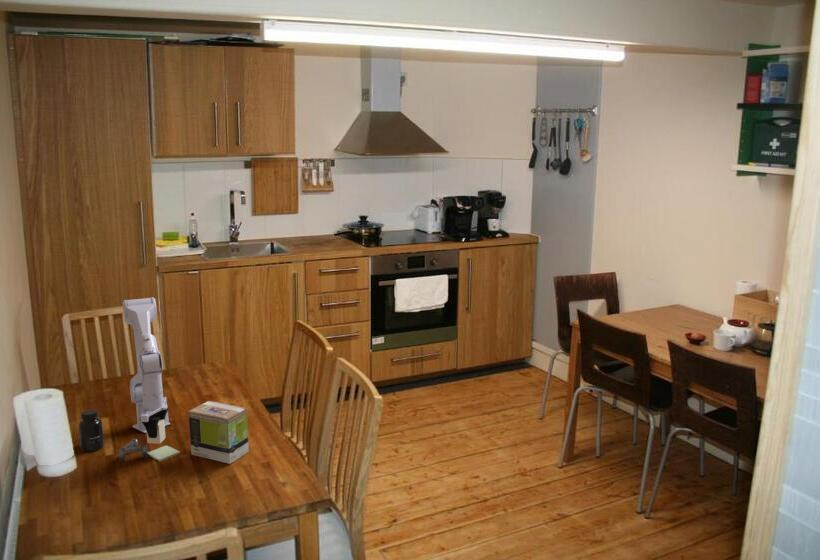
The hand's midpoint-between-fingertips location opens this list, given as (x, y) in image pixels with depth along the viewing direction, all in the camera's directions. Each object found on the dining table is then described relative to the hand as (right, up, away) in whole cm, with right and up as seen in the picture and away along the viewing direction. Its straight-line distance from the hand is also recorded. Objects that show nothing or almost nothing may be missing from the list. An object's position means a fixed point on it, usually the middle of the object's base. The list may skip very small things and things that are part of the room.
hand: (155, 434), depth 227 cm
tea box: (+19, -7, +3) cm, 20 cm away
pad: (+2, -7, +2) cm, 7 cm away
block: (0, -2, 0) cm, 2 cm away
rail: (-8, -7, +1) cm, 10 cm away
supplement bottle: (-22, -6, +6) cm, 24 cm away
